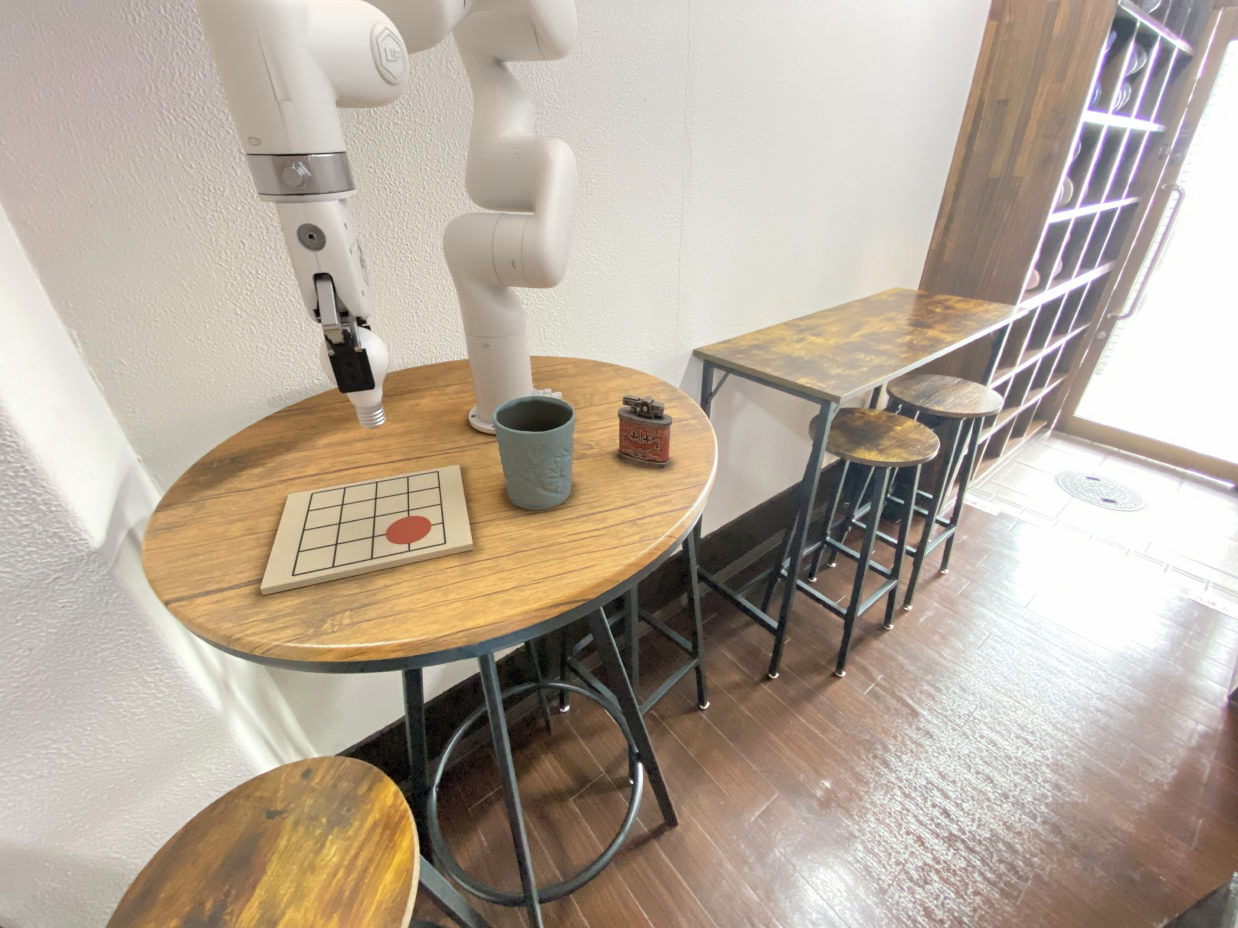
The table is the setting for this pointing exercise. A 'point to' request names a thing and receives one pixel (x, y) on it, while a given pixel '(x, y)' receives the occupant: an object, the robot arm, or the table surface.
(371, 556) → the board
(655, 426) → the lighter
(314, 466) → the table surface
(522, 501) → the grey green cup
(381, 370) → the lightbulb
